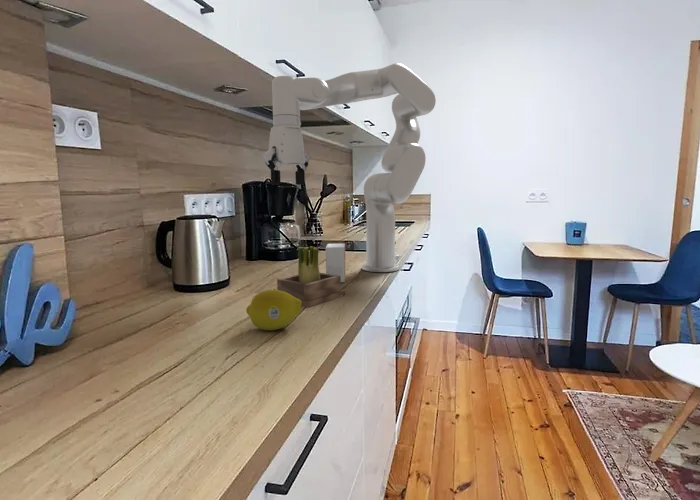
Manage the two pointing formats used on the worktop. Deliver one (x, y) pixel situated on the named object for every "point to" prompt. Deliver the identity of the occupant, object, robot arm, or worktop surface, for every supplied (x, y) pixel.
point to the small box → (335, 260)
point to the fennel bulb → (308, 265)
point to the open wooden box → (312, 288)
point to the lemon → (273, 309)
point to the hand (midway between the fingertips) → (288, 184)
